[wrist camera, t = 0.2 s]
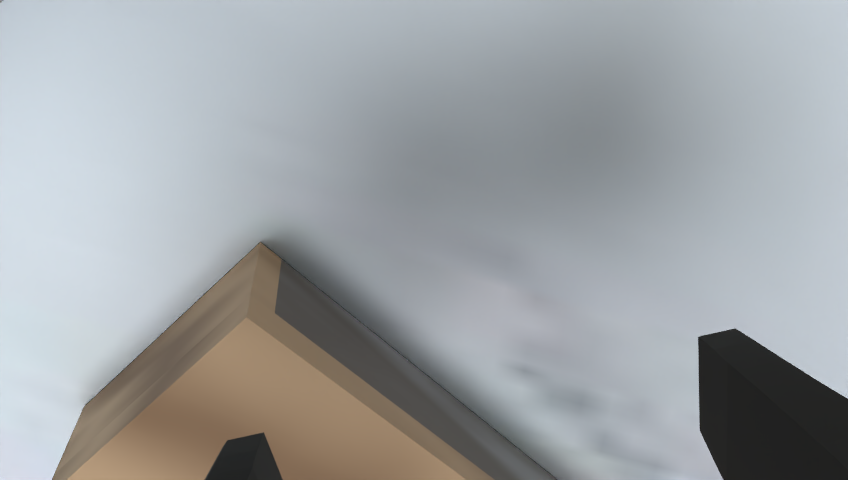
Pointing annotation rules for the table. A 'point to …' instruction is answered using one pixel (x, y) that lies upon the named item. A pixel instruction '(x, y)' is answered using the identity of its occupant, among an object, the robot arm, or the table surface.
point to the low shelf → (281, 396)
